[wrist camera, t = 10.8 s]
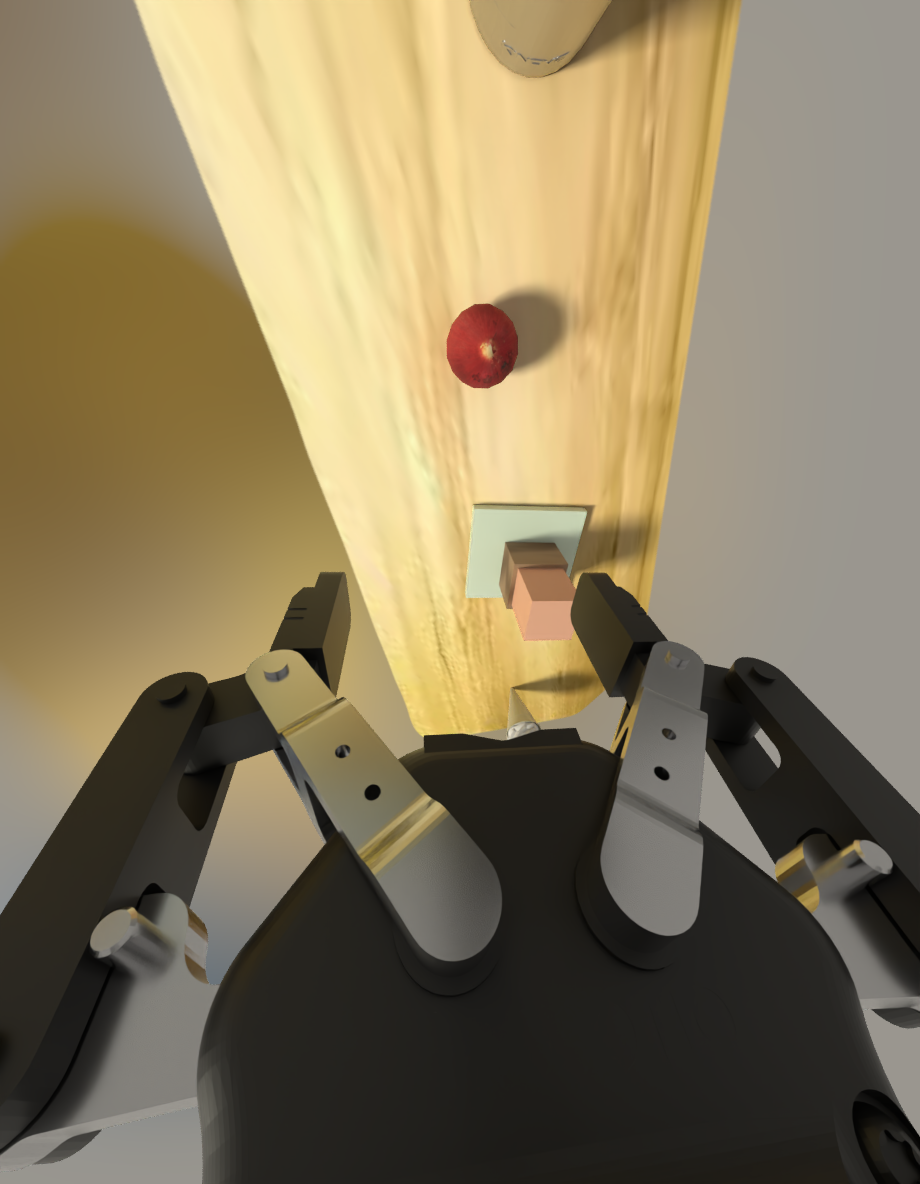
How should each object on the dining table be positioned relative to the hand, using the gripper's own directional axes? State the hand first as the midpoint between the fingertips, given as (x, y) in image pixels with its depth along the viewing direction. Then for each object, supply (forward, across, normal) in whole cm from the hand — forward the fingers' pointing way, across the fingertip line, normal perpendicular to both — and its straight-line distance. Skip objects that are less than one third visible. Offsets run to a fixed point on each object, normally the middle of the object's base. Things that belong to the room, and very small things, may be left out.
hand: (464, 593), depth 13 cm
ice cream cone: (+30, -14, +40) cm, 52 cm away
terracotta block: (+24, -12, +16) cm, 31 cm away
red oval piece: (+30, -4, -6) cm, 31 cm away
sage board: (+30, -11, +15) cm, 35 cm away
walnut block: (+29, -12, +16) cm, 35 cm away
